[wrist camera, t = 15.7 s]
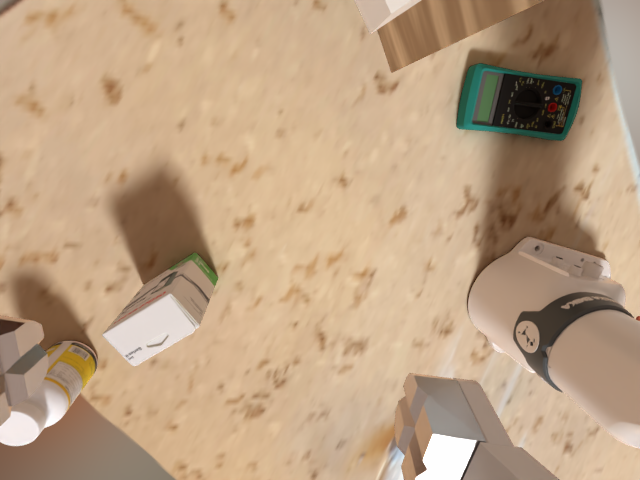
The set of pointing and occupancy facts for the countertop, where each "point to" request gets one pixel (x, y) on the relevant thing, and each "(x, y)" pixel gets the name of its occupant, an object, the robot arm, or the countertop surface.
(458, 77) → the countertop surface
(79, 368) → the pill bottle
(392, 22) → the oak post
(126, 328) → the ink box
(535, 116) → the digital multimeter
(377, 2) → the bar
